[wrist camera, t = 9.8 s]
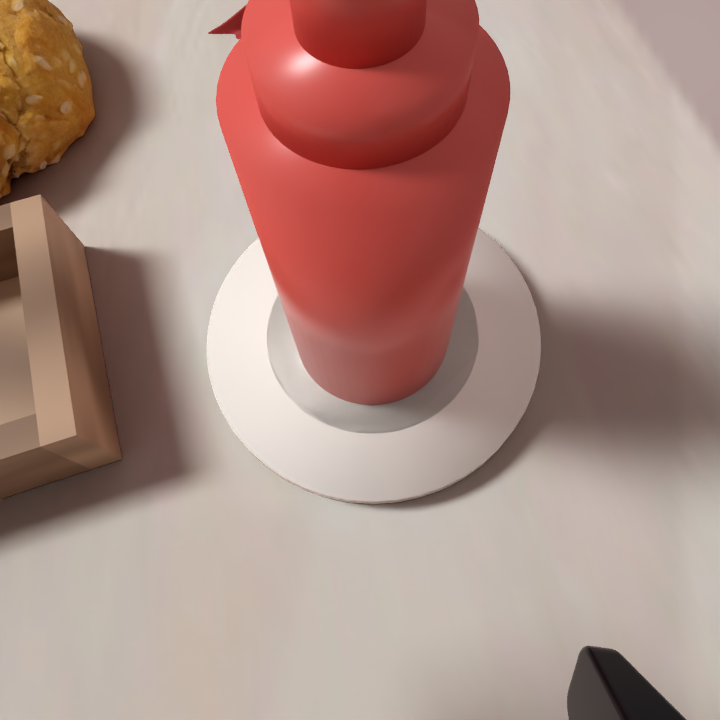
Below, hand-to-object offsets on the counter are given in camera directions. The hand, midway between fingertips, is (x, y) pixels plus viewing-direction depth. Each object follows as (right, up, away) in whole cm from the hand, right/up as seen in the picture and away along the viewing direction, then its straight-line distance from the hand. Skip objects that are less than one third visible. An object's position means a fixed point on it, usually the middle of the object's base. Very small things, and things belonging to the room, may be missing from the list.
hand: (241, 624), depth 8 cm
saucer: (+2, +4, +12) cm, 13 cm away
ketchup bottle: (+2, +4, +11) cm, 12 cm away
